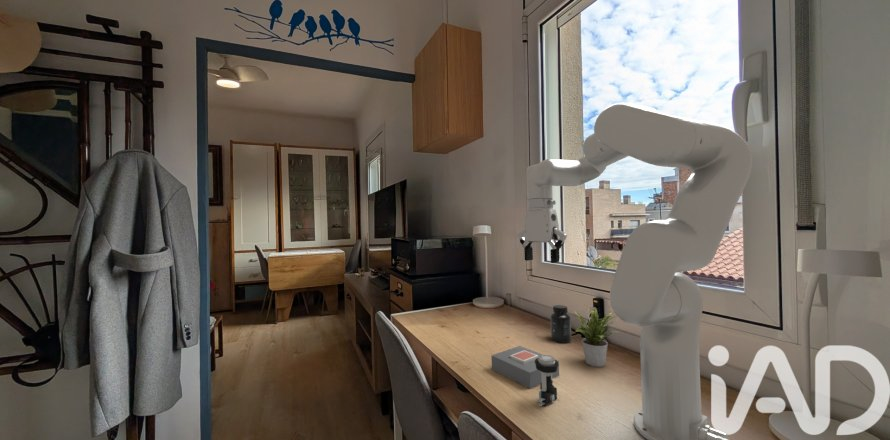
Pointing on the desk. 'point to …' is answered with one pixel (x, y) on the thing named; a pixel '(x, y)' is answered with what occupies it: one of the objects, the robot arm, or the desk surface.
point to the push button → (546, 379)
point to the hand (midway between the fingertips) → (541, 261)
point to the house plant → (595, 338)
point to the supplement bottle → (560, 325)
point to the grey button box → (519, 368)
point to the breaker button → (524, 357)
